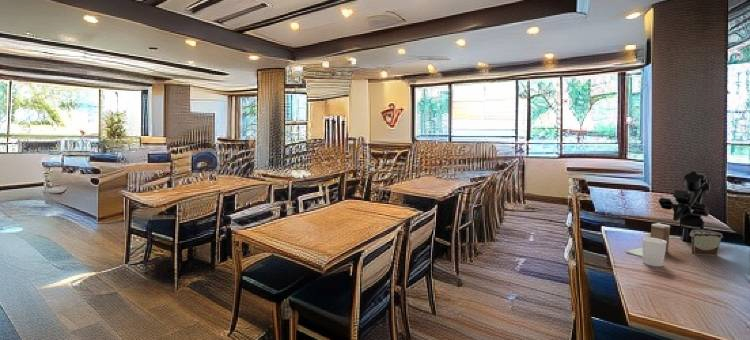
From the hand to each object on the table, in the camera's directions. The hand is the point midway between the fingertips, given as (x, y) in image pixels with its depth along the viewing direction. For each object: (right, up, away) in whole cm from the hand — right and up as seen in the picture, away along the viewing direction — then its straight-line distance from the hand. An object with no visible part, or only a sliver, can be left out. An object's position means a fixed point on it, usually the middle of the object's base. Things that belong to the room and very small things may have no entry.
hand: (674, 220), depth 176 cm
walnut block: (-10, -14, -3) cm, 17 cm away
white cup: (-25, -16, -20) cm, 36 cm away
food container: (+7, -14, -5) cm, 17 cm away
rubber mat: (-19, -14, -7) cm, 24 cm away
